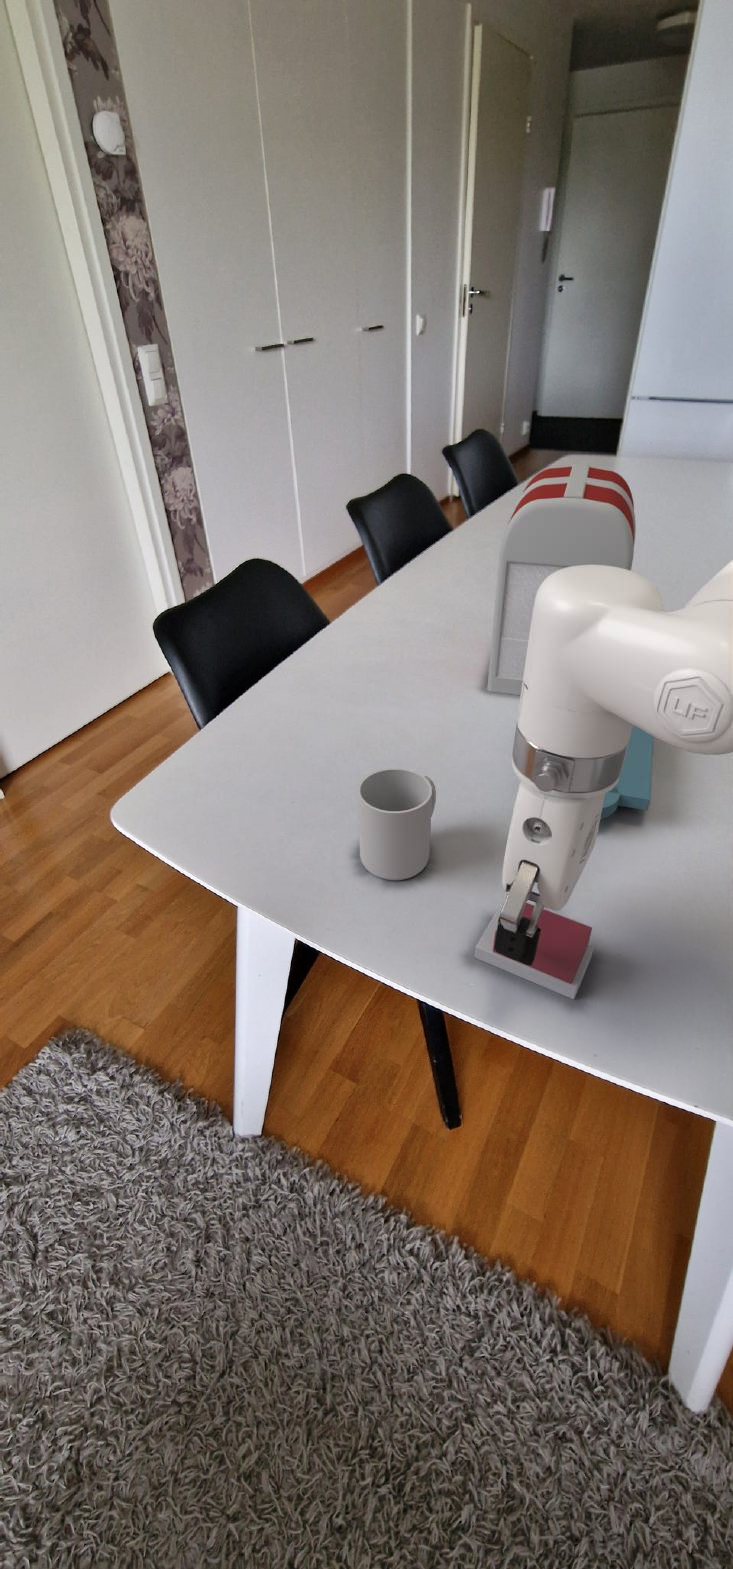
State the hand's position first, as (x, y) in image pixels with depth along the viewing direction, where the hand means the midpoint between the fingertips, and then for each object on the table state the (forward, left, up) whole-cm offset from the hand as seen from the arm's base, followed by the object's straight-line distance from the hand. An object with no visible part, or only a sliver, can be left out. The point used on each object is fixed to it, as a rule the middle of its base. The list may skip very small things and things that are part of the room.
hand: (534, 916), depth 59 cm
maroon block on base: (0, 0, -5) cm, 5 cm away
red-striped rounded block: (-16, -53, -5) cm, 55 cm away
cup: (+10, -15, -5) cm, 18 cm away
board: (-14, -26, -5) cm, 30 cm away
